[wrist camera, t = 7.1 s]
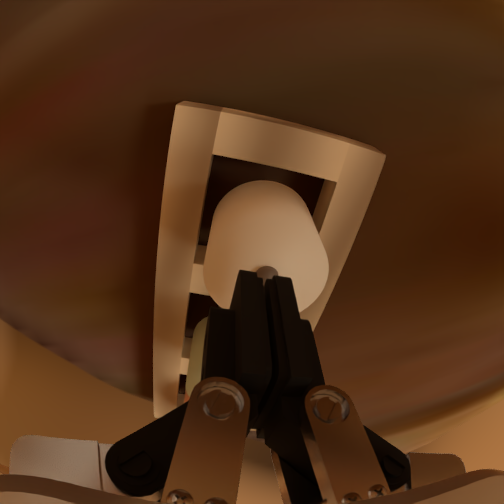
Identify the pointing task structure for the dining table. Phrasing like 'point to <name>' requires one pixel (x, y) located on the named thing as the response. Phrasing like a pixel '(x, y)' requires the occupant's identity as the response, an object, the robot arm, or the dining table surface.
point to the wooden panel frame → (193, 200)
